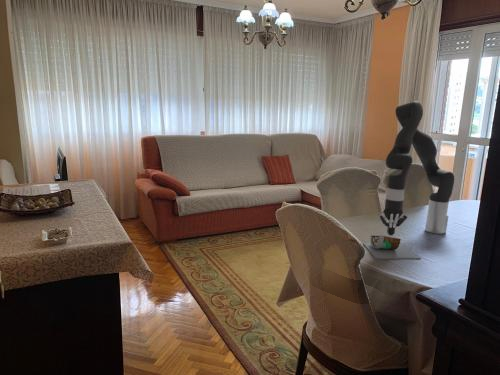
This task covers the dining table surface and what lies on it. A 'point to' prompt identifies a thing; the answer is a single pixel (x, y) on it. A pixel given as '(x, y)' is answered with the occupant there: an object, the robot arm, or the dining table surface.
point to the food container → (384, 242)
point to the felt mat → (392, 252)
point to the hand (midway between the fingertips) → (390, 234)
